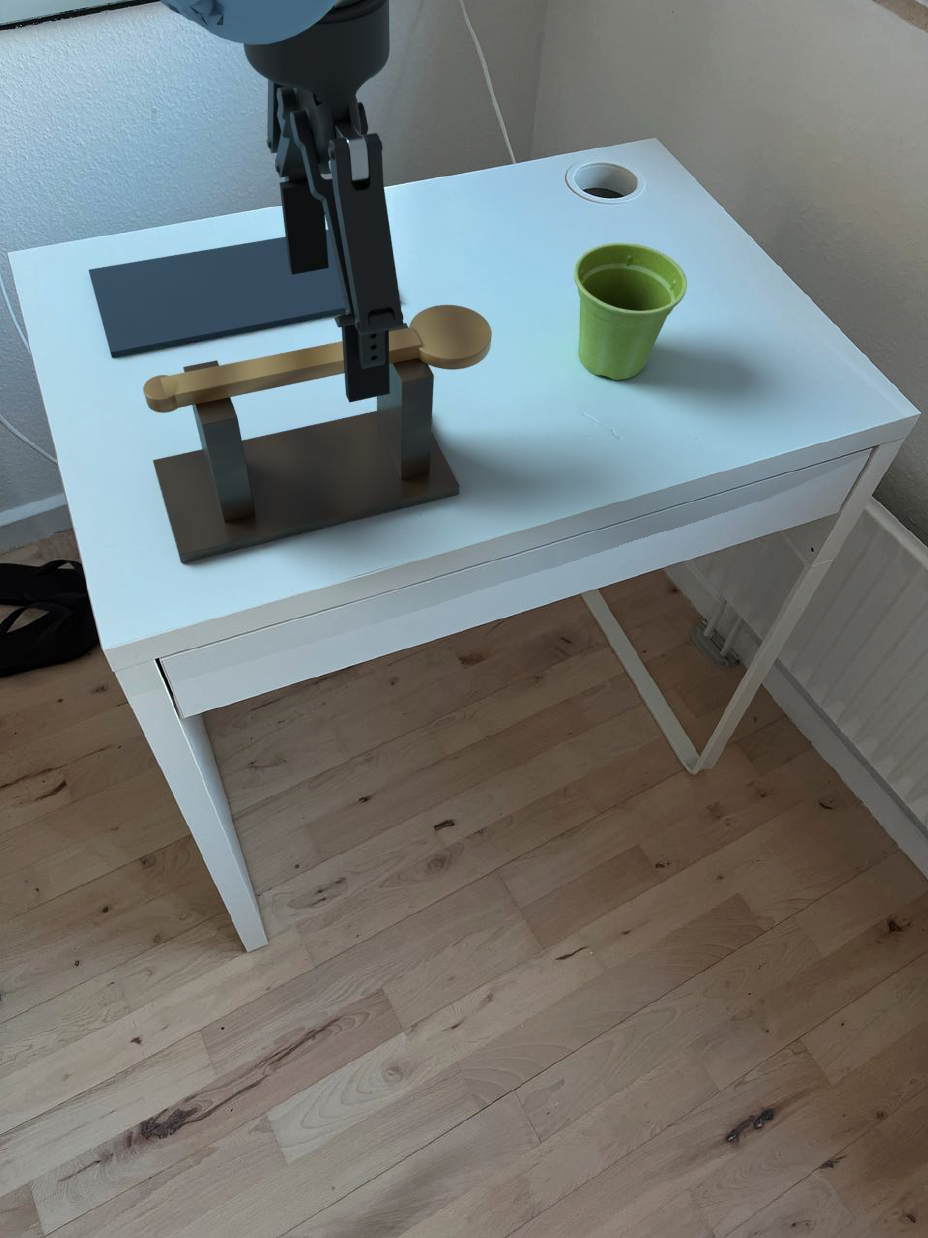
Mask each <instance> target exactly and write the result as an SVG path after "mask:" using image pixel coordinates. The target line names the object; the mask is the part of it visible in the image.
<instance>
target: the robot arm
mask: <svg viewBox="0 0 928 1238" xmlns="http://www.w3.org/2000/svg"><path fill="white" fill-rule="evenodd" d="M159 2H160V3H161V4H163V5H164V6H165V7H166V8H168V9H169V10H170V11H172V12H174V13H176V14H178V15H180V16H182V17H183V18H185V19H186V20H188V21H190V22H194V23H195V24H197V25H199V26H200V27H202V28H203V29H205V30H206V31H208V33H210V34H212V35H214V36H216V37H218V38H220V39H223V40H227V41H229V42H233V43H238V44H242V45H243V52H244V54H245V57H246V60H247V61H248V63H249V65H250V66H251V67H252V68H253V70H255V71H256V73H258V74H259V75H260V76H261V77H263V78H265V79H267V125H266V127H267V129H266V132H267V133H266V137H267V139H266V146H267V149H269V151H270V153H271V154H276V155H275V159H274V168H275V171H276V173H277V174H278V177H279V178H280V179H281V178H284V181H281V182H279V191H280V192H279V193H280V200H281V208H282V209H281V210H282V219H283V227H284V234H285V236H284V237H286V245H287V253H288V262H289V269H290V271H291V274H292V275H294V274H299V273H305V272H310V271H315V270H321V269H326V268H329V264H328V250H327V236H326V230H328V231H329V236H330V240H331V245H332V249H333V254H334V258H335V263H336V267H337V272H338V276H339V281H340V285H341V290H342V294H343V299H344V303H345V308H346V309H345V310H340V311H341V314H340V315H337V316H334V321H335V323H336V327H337V328H339V329H340V328H341V341H342V342H343V358H344V387H345V397H346V399H347V400H348V403H354V402H360V401H364V400H367V399H373V398H377V396H382V395H386V394H390V377H389V330H391V329H395V328H400V327H402V326H403V323H404V313H403V311H402V304H401V297H400V296H401V295H400V289H399V284H398V276H397V269H396V268H397V267H396V263H395V262H396V261H395V256H394V248H393V242H392V234H391V233H392V232H391V226H390V220H389V214H388V213H389V211H388V206H387V199H386V192H385V186H384V185H385V184H384V169H383V142H382V140H381V139H380V135H379V134H378V133H377V132H371V133H368V132H369V123H368V119H367V113H366V109H365V105H364V103H363V102H362V101H358V99H357V93H358V91H359V90H360V88H361V87H362V86H363V85H364V84H365V83H367V82H368V81H369V80H371V79H372V78H374V77H376V76H377V75H378V74H379V73H380V72H381V71H382V70H383V69H384V68H385V66H386V65H387V63H388V60H389V57H390V49H391V46H390V45H391V43H390V42H391V41H390V40H391V39H390V38H391V37H390V0H159ZM322 175H324V176H325V175H331V178H324V177H323V176H322Z"/></svg>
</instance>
